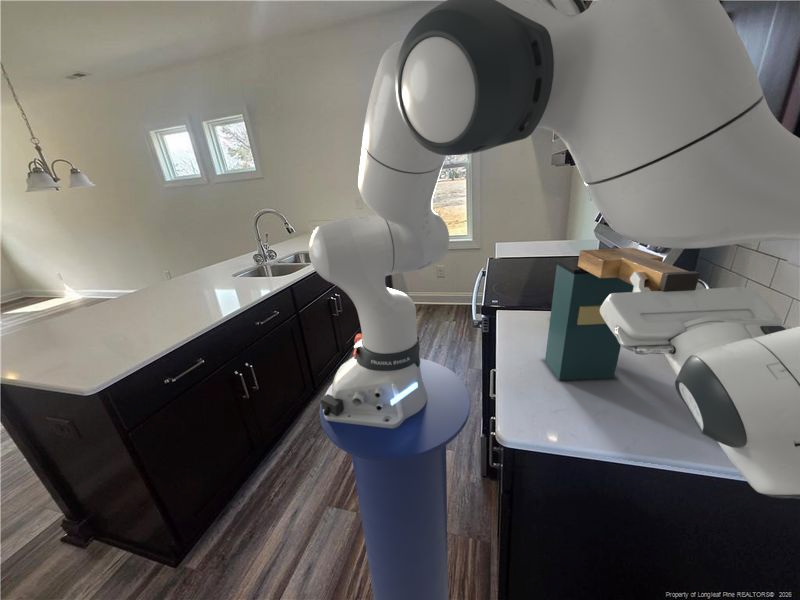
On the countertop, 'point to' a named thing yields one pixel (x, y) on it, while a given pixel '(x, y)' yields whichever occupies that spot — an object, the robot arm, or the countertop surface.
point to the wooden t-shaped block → (637, 268)
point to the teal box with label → (581, 324)
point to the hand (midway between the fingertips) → (654, 273)
